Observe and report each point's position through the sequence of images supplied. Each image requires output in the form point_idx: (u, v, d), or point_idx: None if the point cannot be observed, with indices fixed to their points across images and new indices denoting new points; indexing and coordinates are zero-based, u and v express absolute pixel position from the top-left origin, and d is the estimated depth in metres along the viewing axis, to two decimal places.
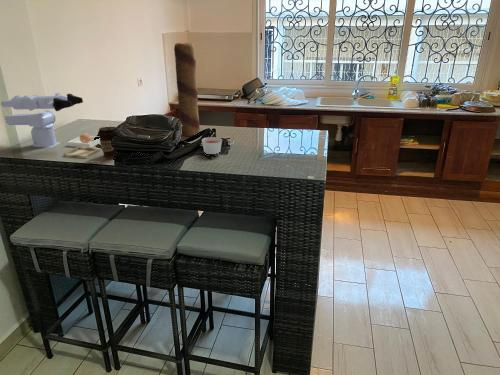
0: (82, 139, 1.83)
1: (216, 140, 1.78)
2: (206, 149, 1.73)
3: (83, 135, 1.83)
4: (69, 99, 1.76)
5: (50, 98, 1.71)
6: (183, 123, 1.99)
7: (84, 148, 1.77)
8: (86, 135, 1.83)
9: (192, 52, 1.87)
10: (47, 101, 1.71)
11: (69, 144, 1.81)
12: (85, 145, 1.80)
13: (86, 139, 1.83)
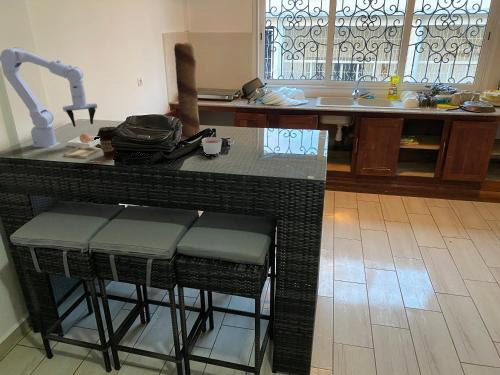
0: (82, 139, 1.83)
1: (216, 140, 1.78)
2: (206, 149, 1.73)
3: (83, 135, 1.83)
4: (89, 111, 1.81)
5: (75, 101, 1.75)
6: (183, 123, 1.99)
7: (84, 148, 1.77)
8: (86, 135, 1.83)
9: (192, 52, 1.87)
10: (72, 98, 1.75)
11: (69, 144, 1.81)
12: (85, 145, 1.80)
13: (86, 139, 1.83)
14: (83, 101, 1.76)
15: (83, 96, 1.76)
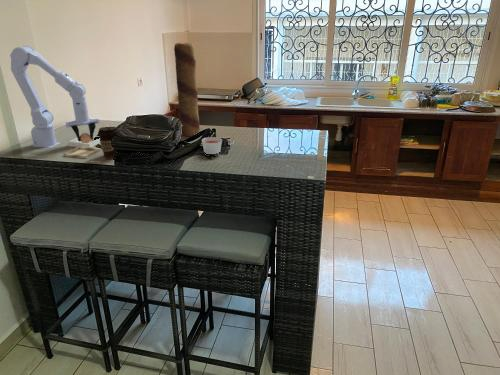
0: (82, 139, 1.83)
1: (216, 140, 1.78)
2: (206, 149, 1.73)
3: (83, 135, 1.83)
4: (89, 126, 1.84)
5: (77, 117, 1.78)
6: (183, 123, 1.99)
7: (84, 148, 1.77)
8: (86, 135, 1.83)
9: (192, 52, 1.87)
10: (75, 114, 1.78)
11: (69, 144, 1.81)
12: (85, 145, 1.80)
13: (86, 139, 1.83)
14: (86, 117, 1.79)
15: (86, 112, 1.79)
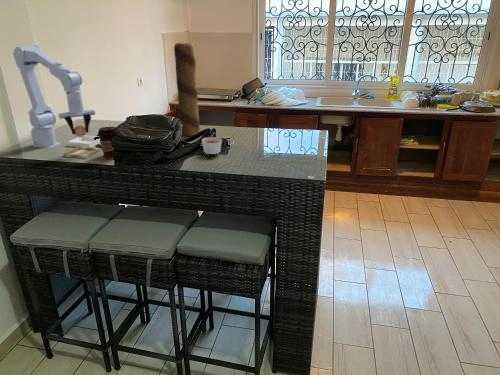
0: (76, 132, 1.69)
1: (216, 140, 1.78)
2: (206, 149, 1.73)
3: (77, 128, 1.69)
4: (84, 118, 1.69)
5: (71, 108, 1.64)
6: (183, 123, 1.99)
7: (84, 148, 1.77)
8: (80, 128, 1.69)
9: (192, 52, 1.87)
10: (69, 105, 1.64)
11: (69, 144, 1.81)
12: (85, 145, 1.80)
13: (80, 132, 1.69)
14: (80, 108, 1.65)
15: (80, 102, 1.65)
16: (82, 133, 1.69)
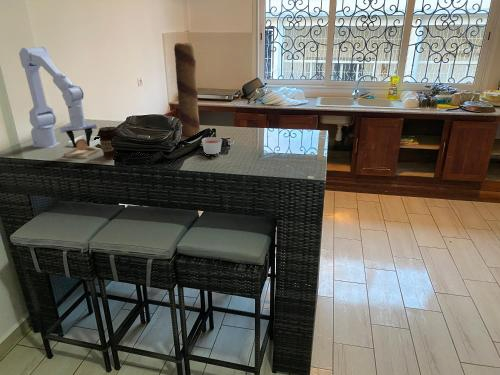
0: (78, 146, 1.69)
1: (216, 140, 1.78)
2: (206, 149, 1.73)
3: (79, 141, 1.69)
4: (86, 131, 1.70)
5: (73, 122, 1.64)
6: (183, 123, 1.99)
7: None
8: (82, 141, 1.70)
9: (192, 52, 1.87)
10: (70, 119, 1.64)
11: (69, 144, 1.81)
12: None
13: (82, 146, 1.70)
14: (82, 122, 1.66)
15: (82, 116, 1.65)
16: (83, 147, 1.70)
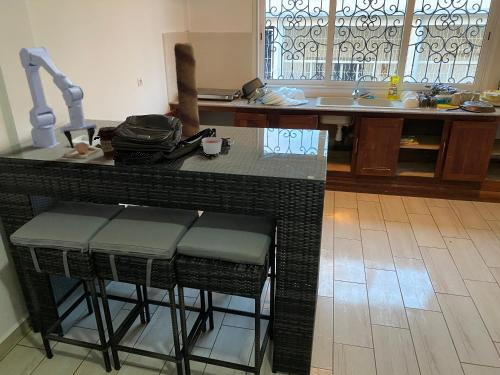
0: (78, 149, 1.70)
1: (216, 140, 1.78)
2: (206, 149, 1.73)
3: (79, 144, 1.70)
4: (88, 131, 1.71)
5: (73, 122, 1.64)
6: (183, 123, 1.99)
7: None
8: (82, 144, 1.70)
9: (192, 52, 1.87)
10: (70, 119, 1.64)
11: (69, 144, 1.81)
12: None
13: (82, 149, 1.70)
14: (82, 122, 1.66)
15: (82, 116, 1.65)
16: (84, 150, 1.71)
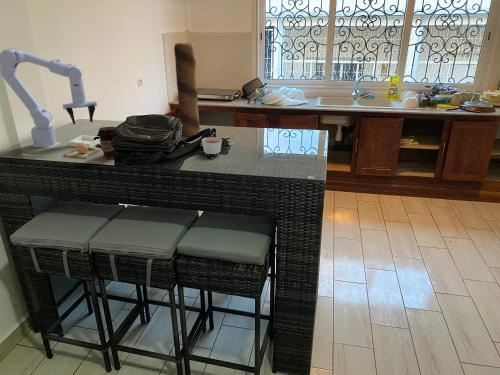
0: (78, 149, 1.70)
1: (216, 140, 1.78)
2: (206, 149, 1.73)
3: (79, 145, 1.70)
4: (89, 108, 1.83)
5: (74, 99, 1.77)
6: (183, 123, 1.99)
7: None
8: (82, 144, 1.70)
9: (192, 52, 1.87)
10: (72, 96, 1.77)
11: (69, 144, 1.81)
12: None
13: (82, 149, 1.70)
14: (83, 99, 1.79)
15: (83, 94, 1.78)
16: (84, 150, 1.71)
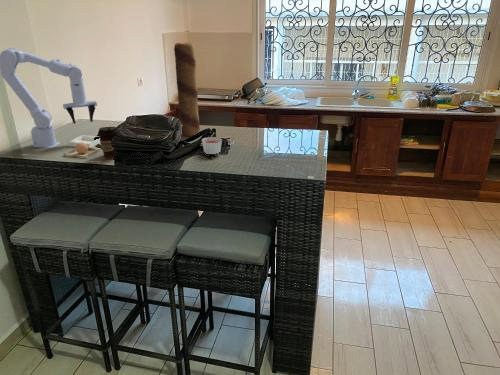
0: (78, 149, 1.70)
1: (216, 140, 1.78)
2: (206, 149, 1.73)
3: (79, 145, 1.70)
4: (89, 108, 1.84)
5: (75, 99, 1.78)
6: (183, 123, 1.99)
7: None
8: (82, 145, 1.70)
9: (192, 52, 1.87)
10: (72, 96, 1.78)
11: (69, 144, 1.81)
12: None
13: (82, 149, 1.70)
14: (83, 99, 1.79)
15: (83, 94, 1.79)
16: (84, 150, 1.71)
